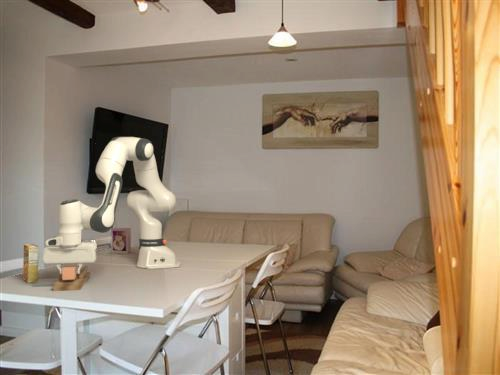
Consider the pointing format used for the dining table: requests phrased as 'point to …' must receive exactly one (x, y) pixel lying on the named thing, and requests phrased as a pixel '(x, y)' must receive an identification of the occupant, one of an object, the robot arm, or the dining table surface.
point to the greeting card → (121, 240)
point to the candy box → (30, 263)
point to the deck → (72, 281)
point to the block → (69, 272)
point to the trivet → (45, 282)
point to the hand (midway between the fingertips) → (69, 274)
